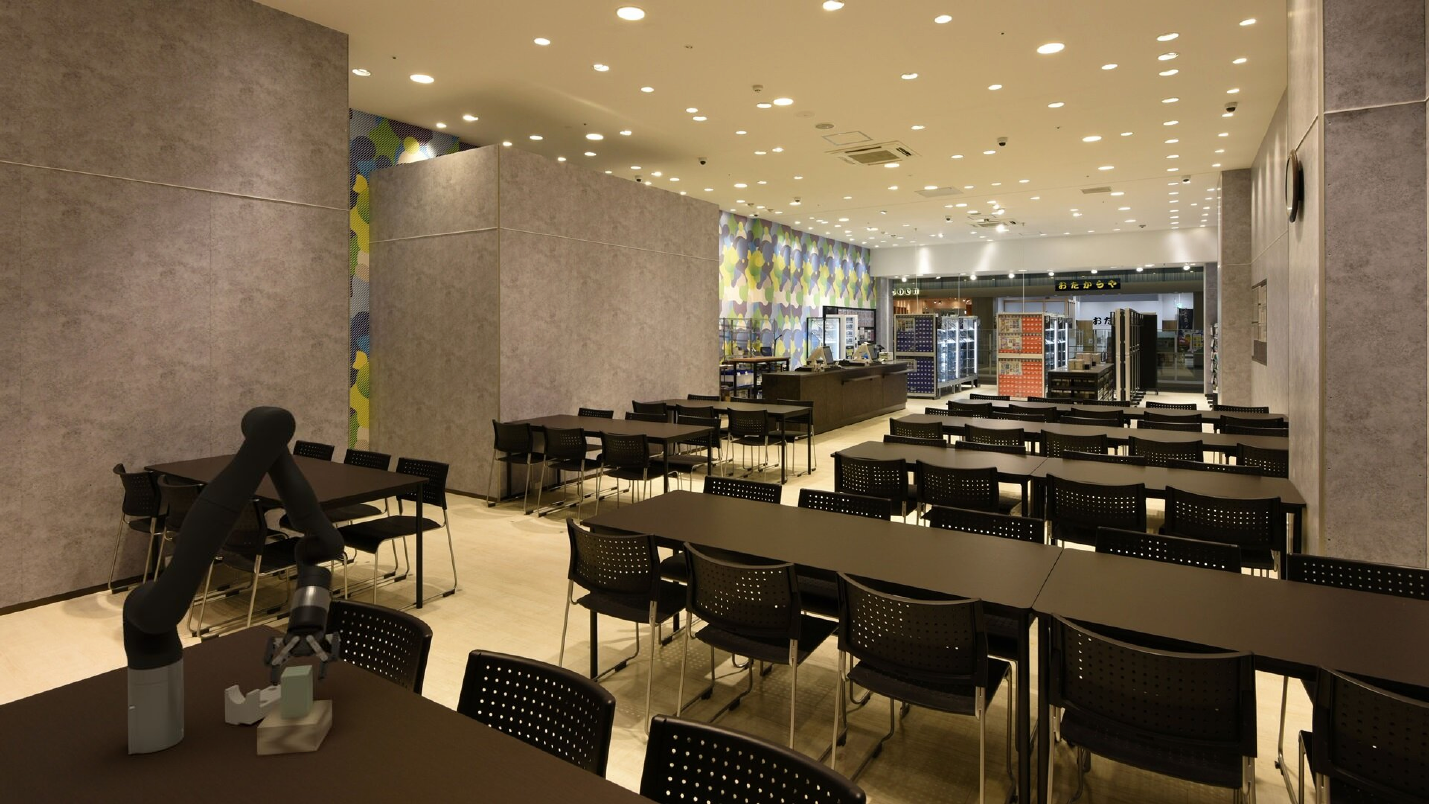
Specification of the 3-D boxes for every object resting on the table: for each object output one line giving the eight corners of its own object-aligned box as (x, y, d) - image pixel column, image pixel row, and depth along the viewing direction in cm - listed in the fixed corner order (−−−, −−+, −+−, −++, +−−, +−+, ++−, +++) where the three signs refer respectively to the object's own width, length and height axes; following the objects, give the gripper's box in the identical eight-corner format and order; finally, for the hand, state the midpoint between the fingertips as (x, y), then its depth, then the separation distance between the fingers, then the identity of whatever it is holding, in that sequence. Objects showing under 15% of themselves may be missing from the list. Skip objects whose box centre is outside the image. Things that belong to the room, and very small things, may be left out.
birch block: (257, 756, 152) (256, 727, 151) (277, 730, 162) (276, 703, 162) (316, 752, 154) (316, 723, 154) (331, 726, 165) (331, 699, 164)
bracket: (250, 728, 163) (249, 694, 163) (225, 723, 165) (224, 689, 165) (299, 703, 175) (299, 671, 175) (275, 698, 177) (275, 667, 177)
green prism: (281, 719, 155) (280, 677, 155) (286, 708, 160) (286, 667, 159) (308, 716, 157) (307, 674, 156) (312, 705, 161) (312, 664, 161)
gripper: (270, 606, 163) (255, 679, 153) (342, 601, 167) (332, 672, 157) (276, 621, 169) (262, 693, 158) (346, 617, 173) (337, 686, 162)
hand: (297, 682), depth 158 cm, fingers open, 8 cm apart
